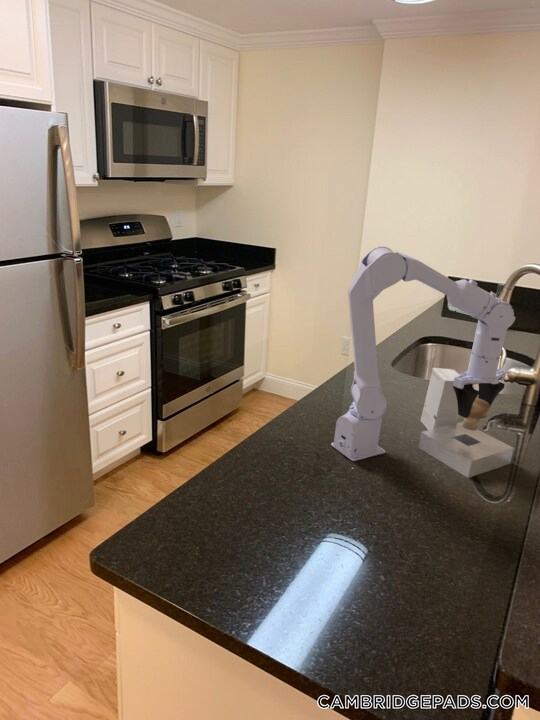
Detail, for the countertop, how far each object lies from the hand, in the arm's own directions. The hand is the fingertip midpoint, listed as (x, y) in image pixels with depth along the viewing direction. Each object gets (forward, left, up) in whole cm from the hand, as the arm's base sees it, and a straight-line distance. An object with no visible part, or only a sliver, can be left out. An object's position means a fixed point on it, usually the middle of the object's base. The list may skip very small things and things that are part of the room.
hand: (472, 413), depth 116 cm
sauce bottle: (+110, +75, -11) cm, 134 cm away
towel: (+128, +99, -11) cm, 162 cm away
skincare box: (+5, +12, -11) cm, 17 cm away
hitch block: (0, 0, -10) cm, 10 cm away
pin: (0, 0, -3) cm, 3 cm away
